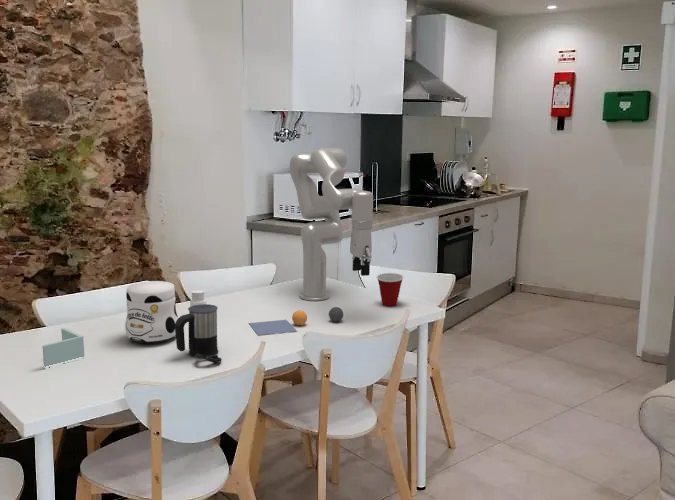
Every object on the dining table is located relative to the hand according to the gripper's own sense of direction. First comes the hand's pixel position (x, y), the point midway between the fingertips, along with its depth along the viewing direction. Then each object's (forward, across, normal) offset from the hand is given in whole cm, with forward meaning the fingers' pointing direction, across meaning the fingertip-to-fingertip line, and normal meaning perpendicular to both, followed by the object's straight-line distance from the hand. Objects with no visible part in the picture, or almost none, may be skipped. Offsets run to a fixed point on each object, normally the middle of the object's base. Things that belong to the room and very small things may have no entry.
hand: (360, 272), depth 239 cm
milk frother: (+18, +22, -60) cm, 67 cm away
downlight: (+18, -20, -56) cm, 63 cm away
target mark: (+18, 0, -34) cm, 38 cm away
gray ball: (+15, 0, -10) cm, 18 cm away
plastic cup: (+18, -14, +18) cm, 29 cm away
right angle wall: (+19, +9, -104) cm, 106 cm away
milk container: (+18, -1, -74) cm, 77 cm away
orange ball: (+15, 0, -24) cm, 28 cm away
